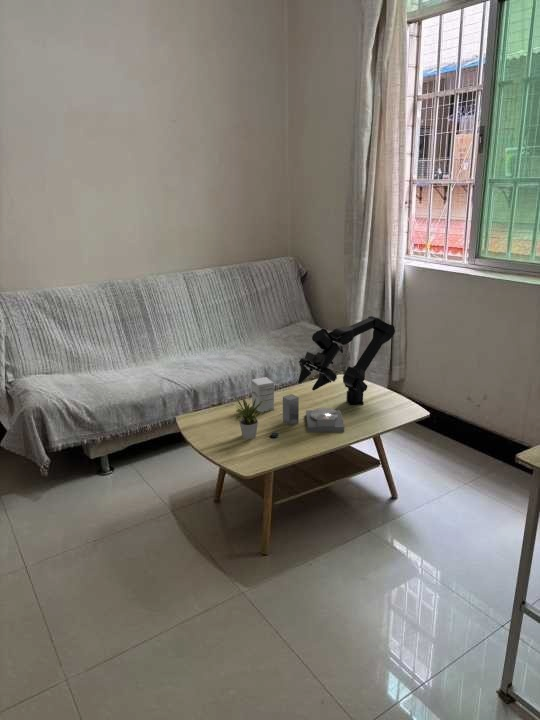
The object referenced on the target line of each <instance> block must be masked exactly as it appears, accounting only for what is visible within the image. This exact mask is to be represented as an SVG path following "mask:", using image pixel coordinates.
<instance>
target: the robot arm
mask: <svg viewBox="0 0 540 720" xmlns="http://www.w3.org/2000/svg"><path fill="white" fill-rule="evenodd" d="M370 330H372V338H371V339H370V341H369V343H368V345H367V346H366V348H365V350H364V351H363V353H362V354H361V356H360V357H359V359H358V360H357V362H356V363H355V365H353V366H352V367H351V366H348V367H347V369H346V370H345V371H344V372H343V376H342V382H343V384H344V387H345V388H347V391H346V402H347V403H348V405H349V406H350V405H354V406H355V405H364V392H365V391H367V389H368V385H367V384H366V382H364V381H365V379H366V371H367V369H368V368H369V366H370V364H371V363H372V362H373V360H374V358H375V357H376V355H377V354H378V352H379V351H380V349H381V347H382V346H383V345H384V344H386V343H387V342H389V341H390V340H391V339H392V338H393V337H394V336H395V334H396V329H395V326H394V325H393V324H391V323H387V322H385V321H383V320H381V319H380V318H379V317H376V316H374V315H371V316H370V315H369V316H368V317H367V318H364V319H362V320H360V321H358V322H356V323H354V324H351V325H349V326H340V327H336V328H334V329H332V331H329V332H328V330H327V329H326V328H324V327H322V328H321V329H320V330H317V331H315V332H314V333H313V334H312V336H311V341H313V343H314V344H315V345H316V346H317V347H318V348H319V349H320V350H321V352H317V353H312V352H309V351H306V353H305V356H304V357H302V358H300V360H299V361H298V363H299V366H300V374H299V377H298V381H297V383H298V384H299V385H301V383H303V382H305V380H306V379H307V378H308V377H309V376H310V375H311V374H312V372H313V371H315V372H318V378H317V379H316V382H315V383H314V384H313V386H312V388H311V390H312V391H316V390H318V389H320V388H321V387H323V386H325V385H327V384H329V383H331V384H332V382H333V383H334V382H336V380H337V378H338V375H337V374H336V373H335V372H334V371H333V370H332V369H331V368H328V367H330V365H333V364H334V362H333V361H334V359H335V358H336V356H337V355H338V353H341V354H344V349H343V348H344V347H343V346H346V345H348V344H349V343H351V342H353V340H354V338H355V337H357V336H359V335H361V334H363V333H365V332H367V331H370ZM339 344H340V345H339ZM341 345H342V346H341Z"/></svg>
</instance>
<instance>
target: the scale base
mask: <svg viewBox="0 0 540 720" xmlns="http://www.w3.org/2000/svg"><path fill="white" fill-rule="evenodd" d="M312 410H313V409H312ZM312 410H309V409H306V410H305V417H306V425H307V426H306V427H307V433H344V432H345V424H344V420H343V416H342V412H341V410H340V409H337V410H336V409H334V410H335V411H337V412H338V418H337V419H336V420H335V416H317V421H315V420H313V419H312V418H311V411H312Z"/></svg>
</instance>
